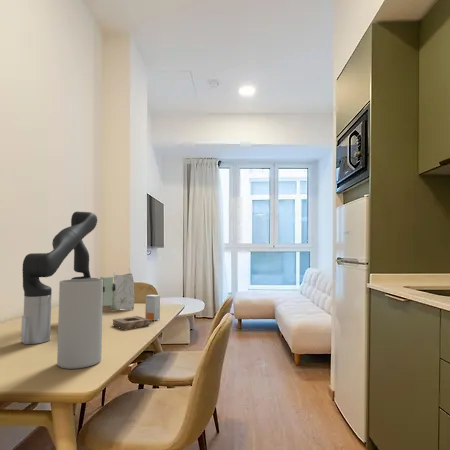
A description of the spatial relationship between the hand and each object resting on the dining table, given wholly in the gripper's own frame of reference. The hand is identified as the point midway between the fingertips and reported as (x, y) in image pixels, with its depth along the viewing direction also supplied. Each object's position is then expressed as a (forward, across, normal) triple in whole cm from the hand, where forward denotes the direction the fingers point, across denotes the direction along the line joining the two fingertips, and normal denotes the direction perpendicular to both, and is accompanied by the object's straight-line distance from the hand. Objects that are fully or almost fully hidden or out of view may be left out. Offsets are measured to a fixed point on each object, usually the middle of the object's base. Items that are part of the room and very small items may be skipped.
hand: (109, 289), depth 149 cm
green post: (-3, 0, +7) cm, 8 cm away
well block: (-3, +12, +18) cm, 22 cm away
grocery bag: (-57, +34, +18) cm, 69 cm away
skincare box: (-8, +26, +18) cm, 33 cm away
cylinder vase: (+34, -24, +18) cm, 46 cm away
